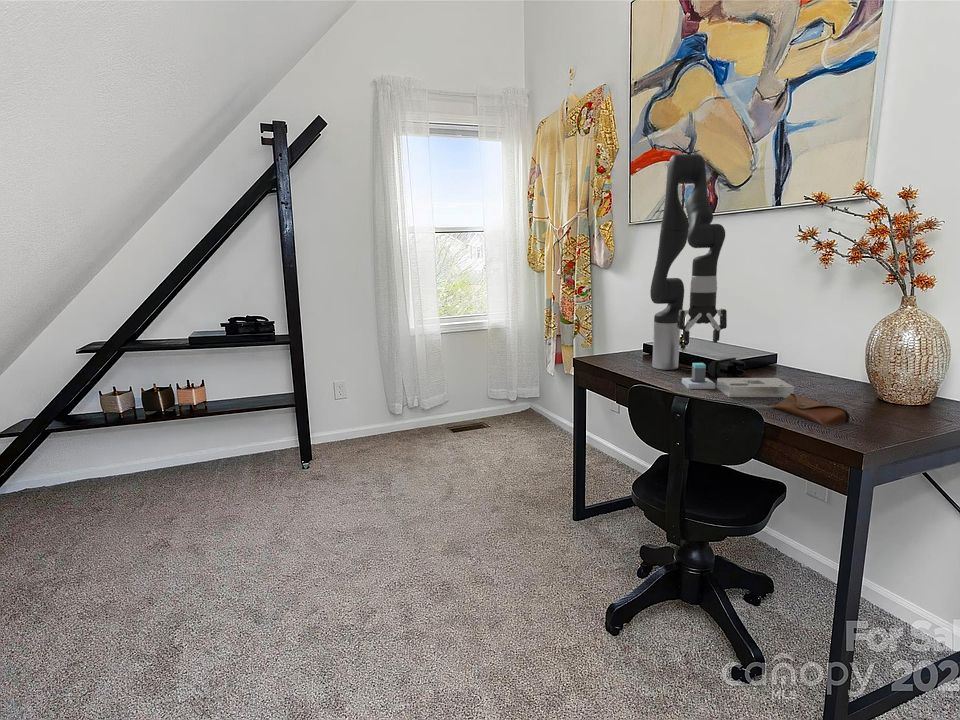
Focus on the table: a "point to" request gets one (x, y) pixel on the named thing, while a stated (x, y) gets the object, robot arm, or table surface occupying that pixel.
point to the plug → (698, 372)
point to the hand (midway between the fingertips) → (700, 342)
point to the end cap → (726, 368)
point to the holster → (698, 384)
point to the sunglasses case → (812, 410)
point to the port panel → (754, 387)
